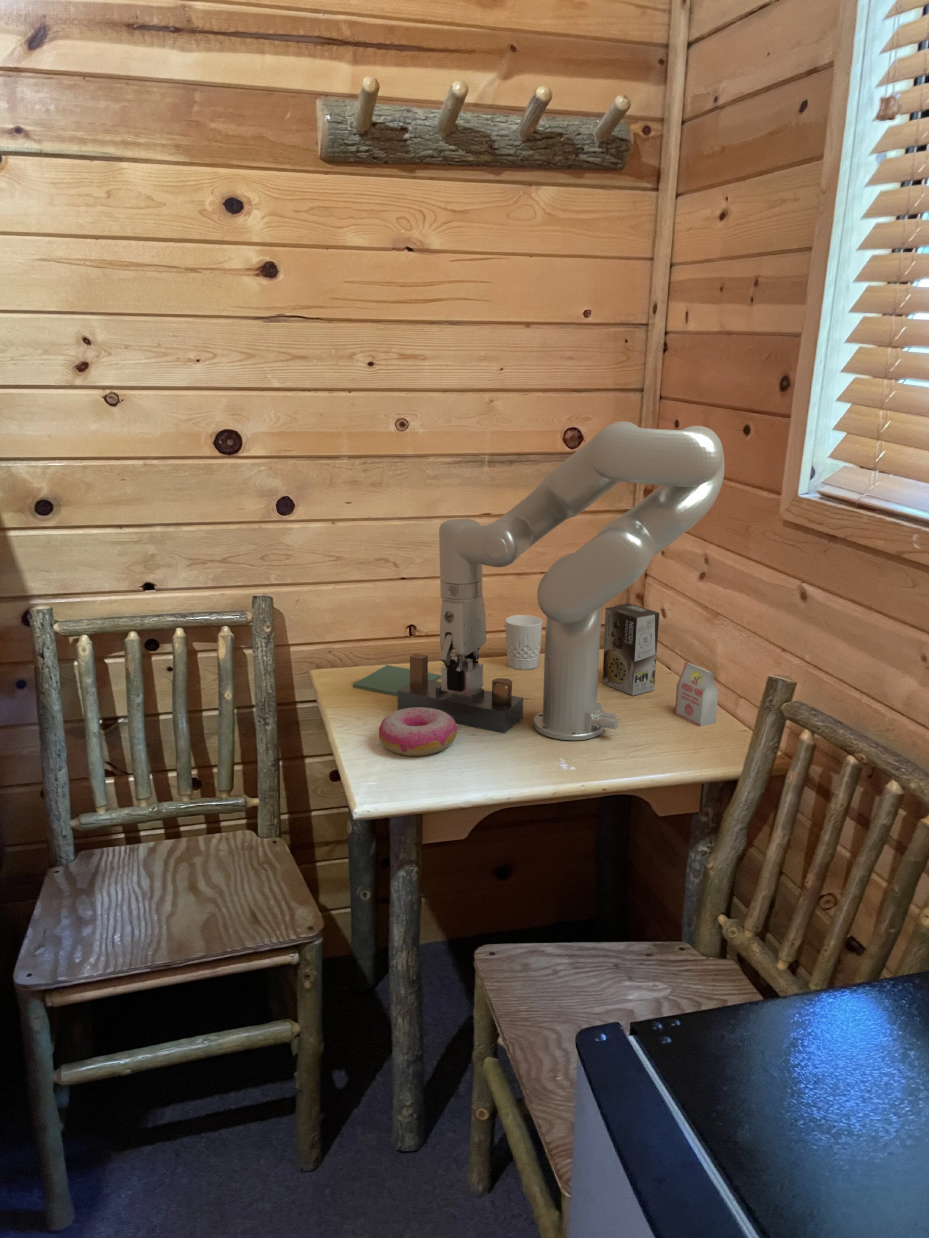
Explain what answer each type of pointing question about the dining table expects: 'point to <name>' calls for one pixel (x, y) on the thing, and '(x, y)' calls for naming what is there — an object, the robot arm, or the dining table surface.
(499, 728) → the plane body
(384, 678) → the rubber mat
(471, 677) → the lever cap
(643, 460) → the robot arm
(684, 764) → the dining table surface
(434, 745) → the donut
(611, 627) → the coffee box
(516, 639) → the white cup
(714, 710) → the white gable carton
